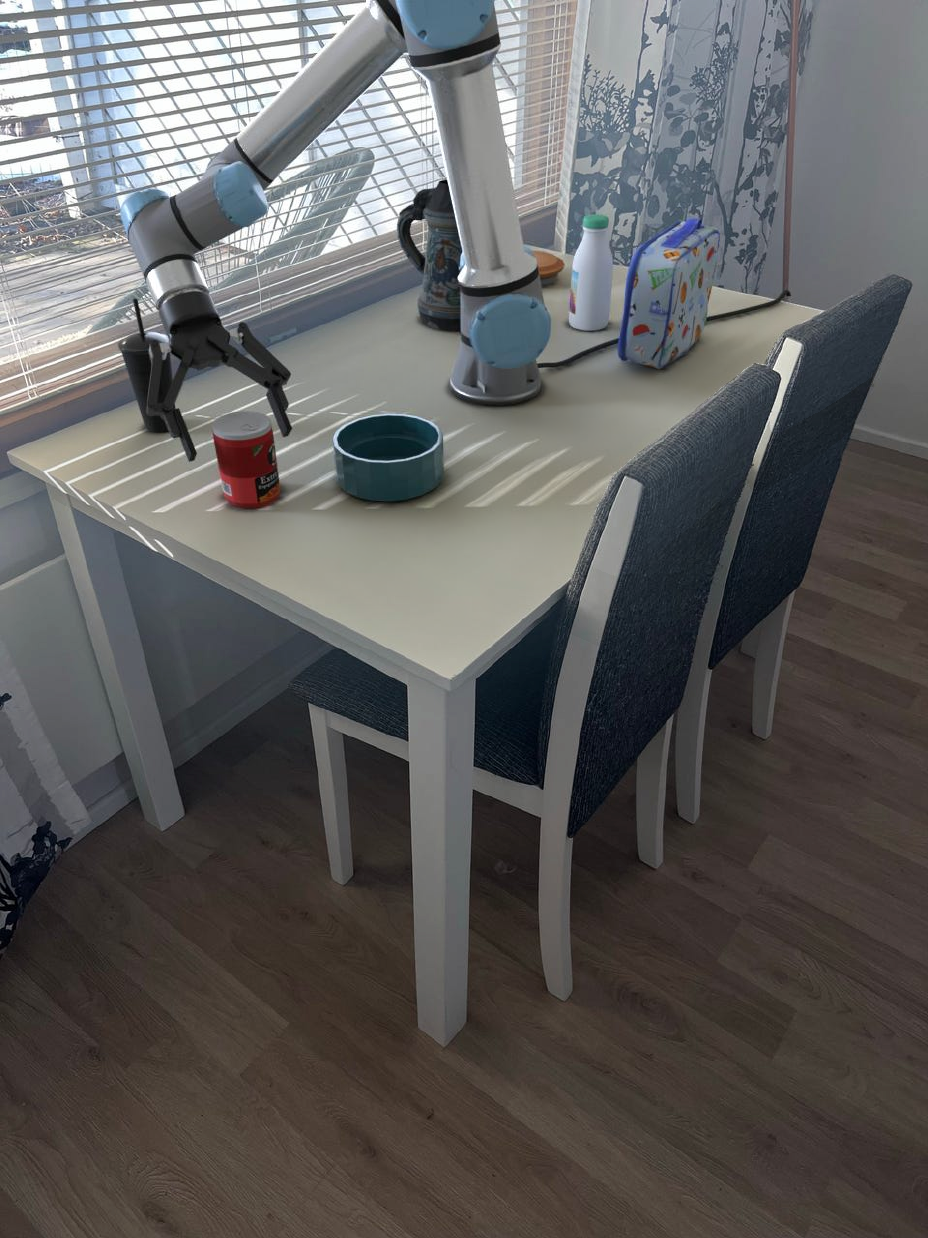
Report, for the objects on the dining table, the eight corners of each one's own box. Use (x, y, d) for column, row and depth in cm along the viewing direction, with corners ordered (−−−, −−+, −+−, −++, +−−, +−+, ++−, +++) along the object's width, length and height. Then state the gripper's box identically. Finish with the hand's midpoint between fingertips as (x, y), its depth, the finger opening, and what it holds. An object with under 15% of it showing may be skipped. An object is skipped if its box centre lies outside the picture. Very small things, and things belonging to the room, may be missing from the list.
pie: (487, 289, 204) (487, 265, 201) (497, 267, 216) (498, 244, 213) (560, 293, 202) (561, 269, 199) (566, 270, 214) (567, 247, 211)
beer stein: (508, 329, 185) (511, 190, 170) (408, 335, 183) (402, 195, 168) (492, 300, 198) (493, 170, 183) (398, 306, 196) (392, 174, 181)
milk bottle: (614, 322, 188) (624, 214, 176) (597, 334, 183) (606, 224, 171) (579, 315, 191) (586, 208, 179) (561, 326, 186) (567, 218, 174)
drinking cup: (195, 419, 154) (172, 293, 142) (168, 439, 148) (142, 310, 136) (154, 412, 156) (128, 288, 144) (126, 432, 150) (96, 304, 138)
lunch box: (660, 322, 188) (674, 202, 175) (712, 331, 184) (730, 209, 171) (608, 371, 169) (620, 241, 155) (665, 382, 165) (682, 249, 151)
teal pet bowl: (432, 449, 145) (430, 409, 141) (453, 497, 133) (452, 455, 129) (331, 459, 143) (327, 419, 139) (344, 510, 131) (340, 467, 127)
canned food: (270, 512, 130) (259, 437, 124) (214, 506, 132) (201, 432, 125) (289, 485, 136) (280, 412, 130) (236, 479, 138) (224, 408, 131)
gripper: (264, 300, 140) (318, 433, 139) (91, 334, 130) (148, 478, 128) (274, 273, 133) (331, 412, 132) (92, 306, 123) (153, 458, 122)
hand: (241, 445), depth 130 cm, fingers open, 13 cm apart
